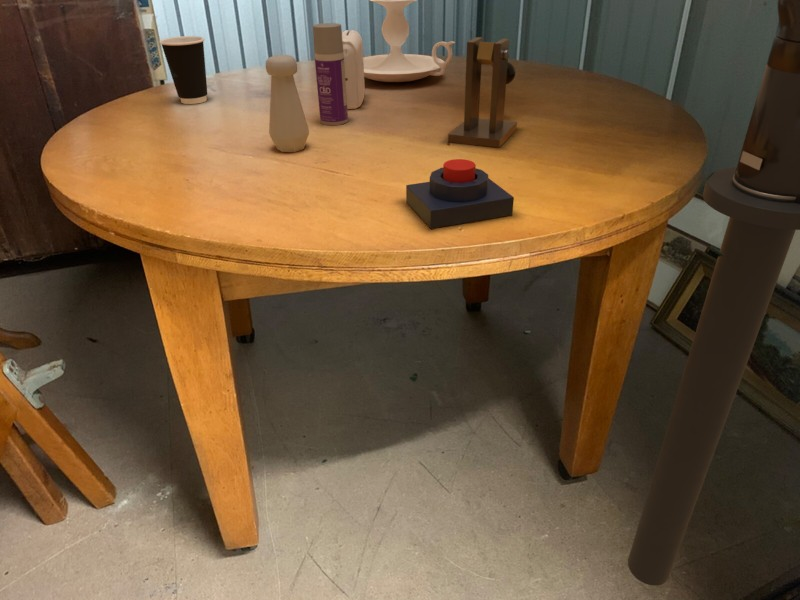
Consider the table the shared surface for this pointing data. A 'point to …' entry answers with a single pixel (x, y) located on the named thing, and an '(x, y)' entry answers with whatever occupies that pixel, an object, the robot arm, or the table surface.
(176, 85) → the dixie cup
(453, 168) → the release button
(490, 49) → the lock lever
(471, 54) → the lever stand
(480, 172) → the button housing
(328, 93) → the container
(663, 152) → the table surface
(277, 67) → the salt shaker
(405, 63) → the candlestick
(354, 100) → the photo printer
